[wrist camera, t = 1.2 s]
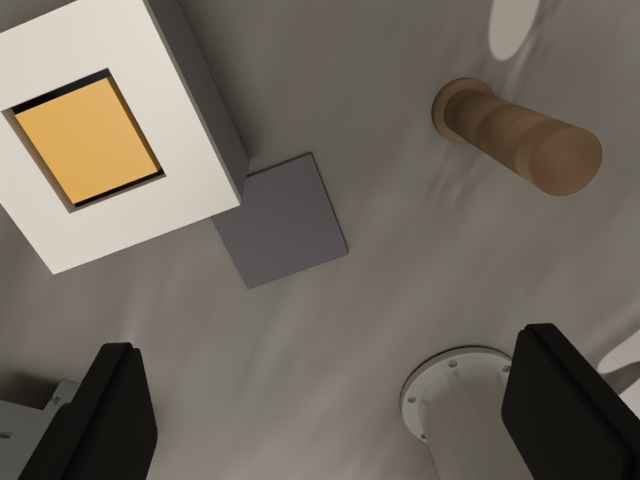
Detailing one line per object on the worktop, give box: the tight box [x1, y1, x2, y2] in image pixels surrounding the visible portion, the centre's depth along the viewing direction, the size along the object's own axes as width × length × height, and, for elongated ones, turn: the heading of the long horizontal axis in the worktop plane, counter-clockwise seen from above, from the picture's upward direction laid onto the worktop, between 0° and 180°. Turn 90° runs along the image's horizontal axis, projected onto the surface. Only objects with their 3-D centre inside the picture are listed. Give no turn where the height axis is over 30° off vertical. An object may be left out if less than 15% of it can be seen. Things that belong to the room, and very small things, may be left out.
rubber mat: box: [210, 152, 349, 289], centre depth 36 cm, size 9×9×1 cm
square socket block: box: [0, 0, 250, 274], centre depth 28 cm, size 12×12×9 cm
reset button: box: [15, 76, 162, 204], centre depth 26 cm, size 5×5×4 cm
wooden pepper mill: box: [432, 78, 602, 196], centre depth 27 cm, size 4×4×14 cm
